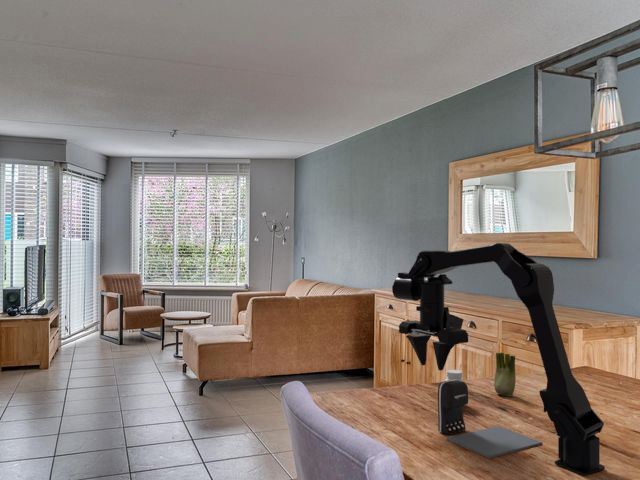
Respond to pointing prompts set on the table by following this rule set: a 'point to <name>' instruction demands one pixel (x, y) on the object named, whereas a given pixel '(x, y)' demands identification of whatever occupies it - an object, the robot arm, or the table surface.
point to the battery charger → (451, 406)
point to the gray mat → (494, 441)
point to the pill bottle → (454, 375)
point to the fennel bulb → (505, 374)
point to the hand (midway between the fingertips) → (431, 367)
